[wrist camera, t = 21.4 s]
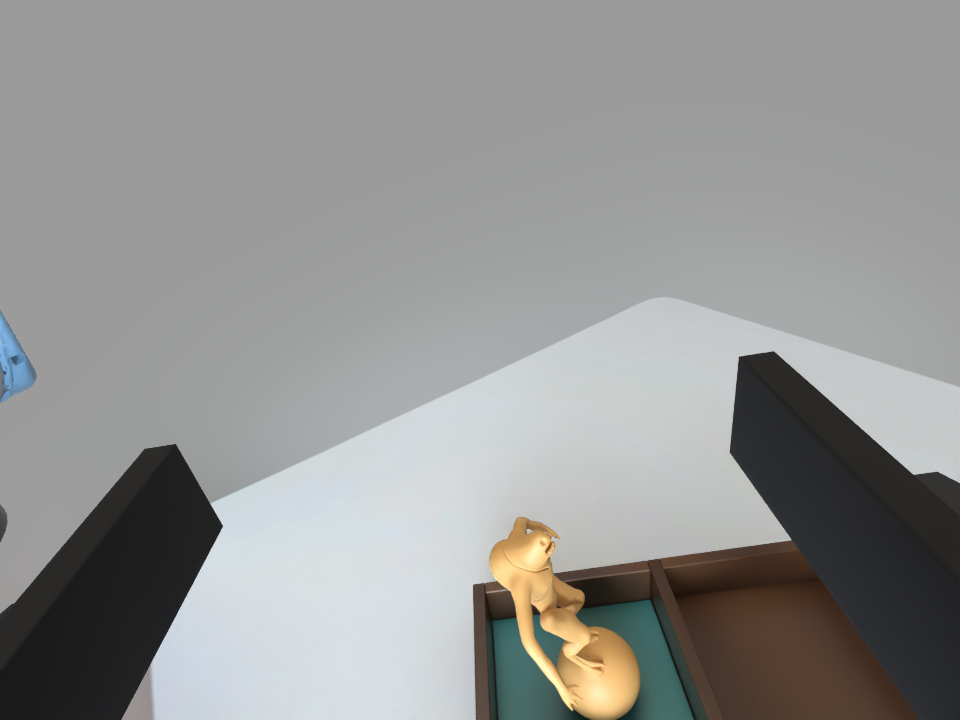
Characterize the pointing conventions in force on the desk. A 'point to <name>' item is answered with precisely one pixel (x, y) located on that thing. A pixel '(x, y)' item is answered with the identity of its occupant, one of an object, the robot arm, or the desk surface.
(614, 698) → the figurine
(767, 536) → the desk surface
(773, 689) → the divided tray
